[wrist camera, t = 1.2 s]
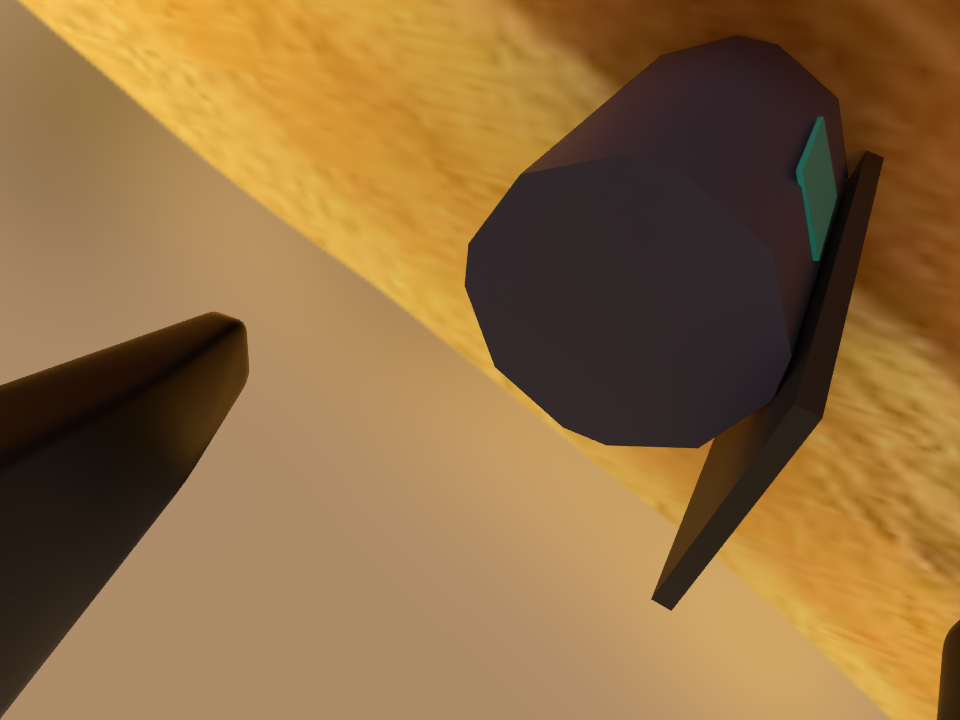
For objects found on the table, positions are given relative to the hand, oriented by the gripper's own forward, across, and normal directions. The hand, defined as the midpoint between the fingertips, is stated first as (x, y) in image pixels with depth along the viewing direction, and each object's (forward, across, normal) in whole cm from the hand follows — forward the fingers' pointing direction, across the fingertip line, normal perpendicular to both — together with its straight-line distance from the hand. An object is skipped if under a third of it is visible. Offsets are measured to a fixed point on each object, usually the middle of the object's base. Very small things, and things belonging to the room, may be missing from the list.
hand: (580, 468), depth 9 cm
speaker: (+13, -1, +2) cm, 13 cm away
